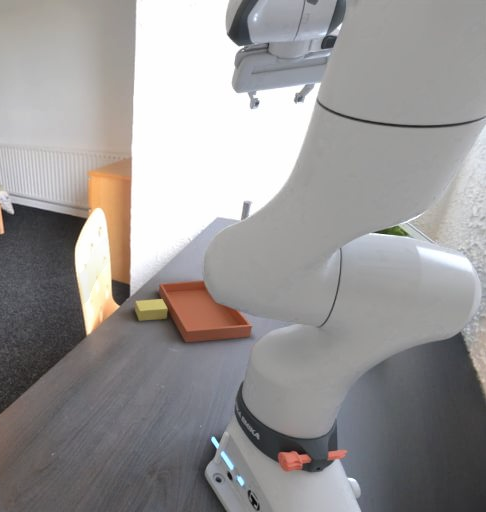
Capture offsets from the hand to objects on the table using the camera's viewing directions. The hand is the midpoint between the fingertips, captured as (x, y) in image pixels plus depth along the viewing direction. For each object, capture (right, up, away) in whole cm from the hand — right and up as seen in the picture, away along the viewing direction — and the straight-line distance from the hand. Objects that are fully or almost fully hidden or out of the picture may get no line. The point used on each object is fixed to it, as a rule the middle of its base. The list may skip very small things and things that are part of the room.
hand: (275, 104), depth 83 cm
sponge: (-26, -49, +10) cm, 57 cm away
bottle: (-1, -43, +21) cm, 48 cm away
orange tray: (-14, -49, +10) cm, 52 cm away
